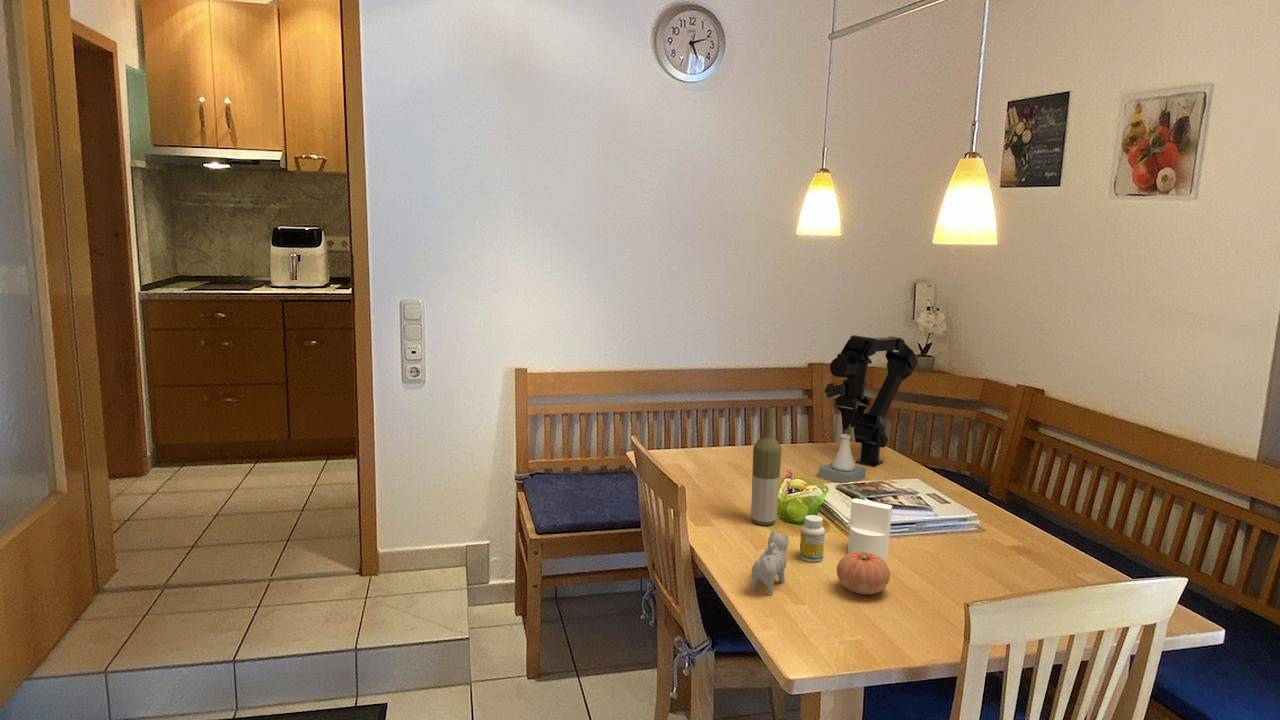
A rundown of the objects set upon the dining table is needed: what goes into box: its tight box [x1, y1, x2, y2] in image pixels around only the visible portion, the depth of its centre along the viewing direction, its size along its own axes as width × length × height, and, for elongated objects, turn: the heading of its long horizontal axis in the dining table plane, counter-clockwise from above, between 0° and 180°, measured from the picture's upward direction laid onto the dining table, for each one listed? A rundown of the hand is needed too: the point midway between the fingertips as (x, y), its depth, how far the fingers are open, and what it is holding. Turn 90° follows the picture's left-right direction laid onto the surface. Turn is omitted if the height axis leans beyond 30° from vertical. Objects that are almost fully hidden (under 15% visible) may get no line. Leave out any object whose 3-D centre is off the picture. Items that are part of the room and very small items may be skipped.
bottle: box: [750, 405, 782, 526], centre depth 211 cm, size 7×7×30 cm
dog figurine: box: [750, 529, 789, 596], centre depth 178 cm, size 5×13×11 cm, turn 151°
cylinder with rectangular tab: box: [847, 497, 893, 560], centre depth 195 cm, size 9×9×12 cm
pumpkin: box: [836, 552, 891, 595], centre depth 176 cm, size 11×11×8 cm
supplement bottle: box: [799, 514, 826, 563], centre depth 191 cm, size 5×5×10 cm
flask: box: [831, 433, 856, 471], centre depth 249 cm, size 7×7×10 cm
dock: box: [818, 461, 867, 484], centre depth 250 cm, size 10×10×3 cm
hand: (848, 428), depth 255 cm, fingers open, 9 cm apart
